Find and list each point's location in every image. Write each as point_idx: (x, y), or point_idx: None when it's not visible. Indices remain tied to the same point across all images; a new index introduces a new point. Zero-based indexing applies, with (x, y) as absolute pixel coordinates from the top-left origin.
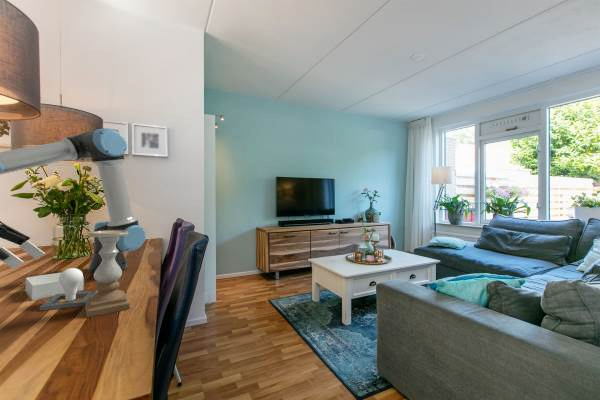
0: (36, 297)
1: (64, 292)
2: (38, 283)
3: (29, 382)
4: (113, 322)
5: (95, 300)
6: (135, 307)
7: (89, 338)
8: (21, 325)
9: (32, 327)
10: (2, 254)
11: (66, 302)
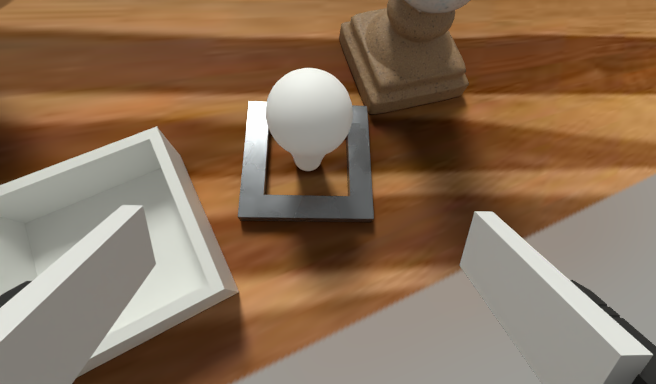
0: (231, 279)
1: (316, 160)
2: None
3: None
4: (501, 44)
5: (446, 58)
6: None
7: (573, 70)
8: None
9: (499, 191)
10: (611, 315)
11: (354, 156)
